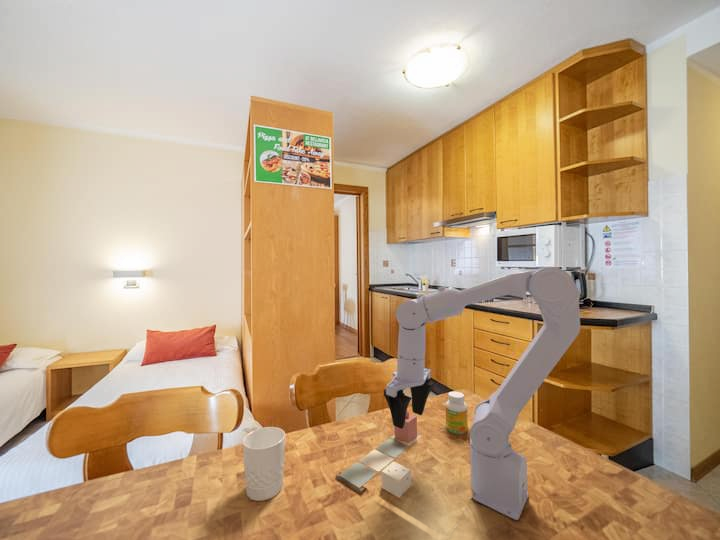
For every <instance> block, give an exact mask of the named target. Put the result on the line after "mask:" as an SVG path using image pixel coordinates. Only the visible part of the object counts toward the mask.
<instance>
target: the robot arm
mask: <svg viewBox="0 0 720 540" xmlns="http://www.w3.org/2000/svg"><path fill="white" fill-rule="evenodd" d="M437 289H438V290H436V291H433V292H430V293H428V294H427V293H426V294H425V295H423V294H422V293H421V294H418V295H416V298H414V299H413V298H412V299H407V300H405V301H403V302H401V303H400V304H399V306H398V307H396V311H395V318H396V320H397V322H398V325H399V326H398V337H397V338H398V340H397V361H396V363H397V364H396V365H397V367H396V371H394V372H392V377H393V378H392V380H391V381H390V382H389V383H387V384H386V385H385V389H383V396H384V398H385V400H386V403H387V405H388V407H389V410H390V415H391V420H392V424H393V426H394V427H395V426H396V427H398V428H400V429H402V428H403V427H404V424H405V417H406V411H408V407H409V404H410V402H411V408H412V413H413V414H416V415H419V416H422V415H424V410H425V408H426V403H427V400H428V397H429V395H430V394H431V392H432V390H433V388H434V386H435V382H433V381H432V380H429V379H431V373H432V370H431V369H429V368H426V367H425V366H426V365H425V362H426V343H427V341H426V339H427V336H426V329H427V328H426V327H427V324H426V323H434V322H435V323H436V322H437V321H441V320H445V319H449V318H453V317H455V316H459V315H462V313H463V312H464V309H465V307H466V306H469V305H473V304H477V303H481V302H484V301H488V300H489V301H490V300H492V299H495V298H496V299H497V298H500V297H504V296H513V297H518V298H523V299H526V298H527V293H529V295H530V297H532V299H533V300H534V301H535V302H536V304H537V305H538V309H539V313H540V315H541V318H542V320H543V321H542V322H543V325H542V326H541V327H540V329H539V330H538V332H537V333H536V335H535V336H534V337H533V339H532V340H531V341H530V343H529V344H528V345H527V347H526V349H525V350H524V352H523V353H522V355H521V356H520V357H519V358H518V360H517V361H516V363H515V364H514V366H513V367H512V369H511V370H510V371H509V373H508V374H507V376H506V377H505V379H504V380H503V381H502V383H501V384H500V385H499V387H498V389H497V390H496V391H494V392H492V393H491V394H490V396H489V397H488V398H487V399H486V400H484V401H481V402H480V403H478V404H477V405H476V406H475V409H474V416H473V420H472V424H471V427H470V429H469V437H470V439H469V450H470V451H469V452H470V453H469V455H470V457H469V458H470V465H469V466H470V488H471V490H472V492H473V494H472V496H471V499H472V500H473V501H476V502H478V503H480V504H482V505H484V506H486V507H488V508H489V509H490V508H491V509H492V510H495V511H496V512H498V513H501V514H503V515H504V516H506V517H509V518H511V519H512V520H515V521H519V519H520V516H521V514H522V512H523V510H524V507H525V504H526V502H527V500H528V497H529V492H528V462H527V458H526V456H525V455H522V454H520V453H519V452H517V451H516V450H514V449H513V447H512V444H511V442H510V440H509V439H510V435H511V433H512V432H513V431H514V429H515V427H516V424H517V422H518V419H519V416H520V414H521V412H522V411H523V410H524V409H525V407H526V405H527V404H528V403H529V401H530V400H531V399H532V397H533V396H534V395H535V393H536V392H537V390H538V389H539V388H540V387H541V386H542V384H543V383H544V381H545V380H546V378H547V377H548V376H549V374H550V373H551V372H552V371H553V369H554V368H555V366H556V365H557V364H558V362H559V361H560V360H561V358H562V357H563V355H564V354H565V353H566V351H568V349H569V347H570V346H571V345H572V344H573V342H574V341H575V340H576V338H577V337H578V335H579V333H580V331H581V318H580V317H581V315H580V314H581V313H580V297H581V292H580V290H579V289H578V286H577V284H576V283H575V280H574V279H573V277H572V276H571V274H569V273H568V271H566V270H564V269H562V268H559V267H555V266H547V267H539V268H537V269H534V270H527V271H518V272H513V273H509V274H506V275H502V276H500V277H497V278H494V279H491V280H488V281H485V282H481V283H480V284H477V285H473V286H471V287H468V288H464V289H462V290H459V289H457V288H455V287H453V286H450V287H447V286H445V285H443V286H439V287H438V288H437ZM406 389H410V394H411V396H408V395H405V392H404V390H406Z"/></svg>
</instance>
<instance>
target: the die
mask: <svg viewBox="0 0 720 540" xmlns="http://www.w3.org/2000/svg"><path fill="white" fill-rule="evenodd" d="M380 472H381V489H383V490H384V491H386V492H388V493H390V494H391V495H393V496H395V497H397V498H398V499H400V498H401V497H402V496H403V495H404V494H405V493H406V492H407V491H408V490H409V489H410V488H411V487H412V476H411V475H412V473H411V472H412V471H411V469H410V468H408V467H406V466H404V465H402V464H400V463H398V462H395V461H394V460H393V461H391V462H390V463H389V464H388V465H387V466H385V467H384V468H383V469H382V470H381V471H380Z"/></svg>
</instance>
